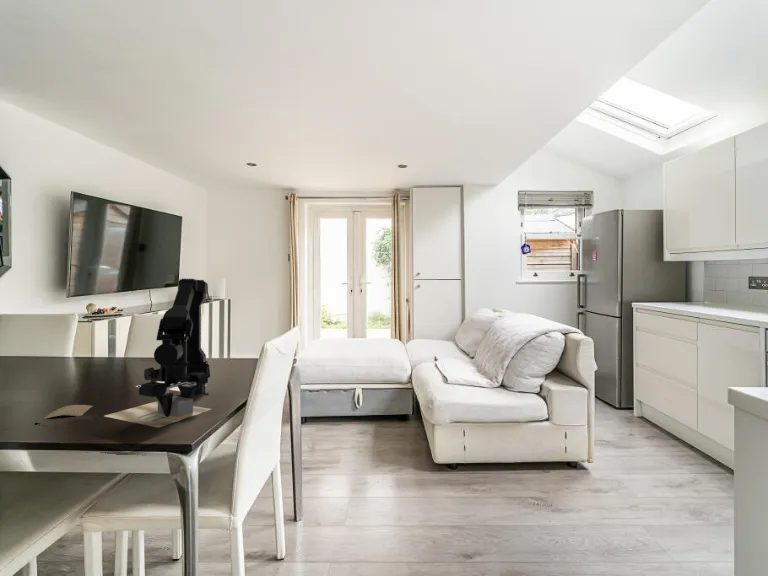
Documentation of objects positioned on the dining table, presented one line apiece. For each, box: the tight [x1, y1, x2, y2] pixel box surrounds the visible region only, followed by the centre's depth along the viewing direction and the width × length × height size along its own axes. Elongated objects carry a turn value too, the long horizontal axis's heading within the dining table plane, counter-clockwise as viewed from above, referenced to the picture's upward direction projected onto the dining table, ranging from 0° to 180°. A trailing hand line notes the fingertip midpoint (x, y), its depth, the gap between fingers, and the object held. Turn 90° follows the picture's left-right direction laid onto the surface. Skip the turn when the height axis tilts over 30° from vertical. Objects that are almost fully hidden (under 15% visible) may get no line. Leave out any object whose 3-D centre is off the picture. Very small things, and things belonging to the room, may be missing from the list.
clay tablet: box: [35, 404, 94, 424], centre depth 122 cm, size 14×10×3 cm
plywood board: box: [104, 400, 213, 428], centre depth 123 cm, size 18×22×1 cm
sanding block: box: [157, 395, 194, 420], centre depth 121 cm, size 5×8×4 cm, turn 67°
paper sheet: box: [135, 381, 208, 392], centre depth 155 cm, size 24×29×1 cm
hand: (175, 413), depth 121 cm, fingers closed on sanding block, 5 cm apart
